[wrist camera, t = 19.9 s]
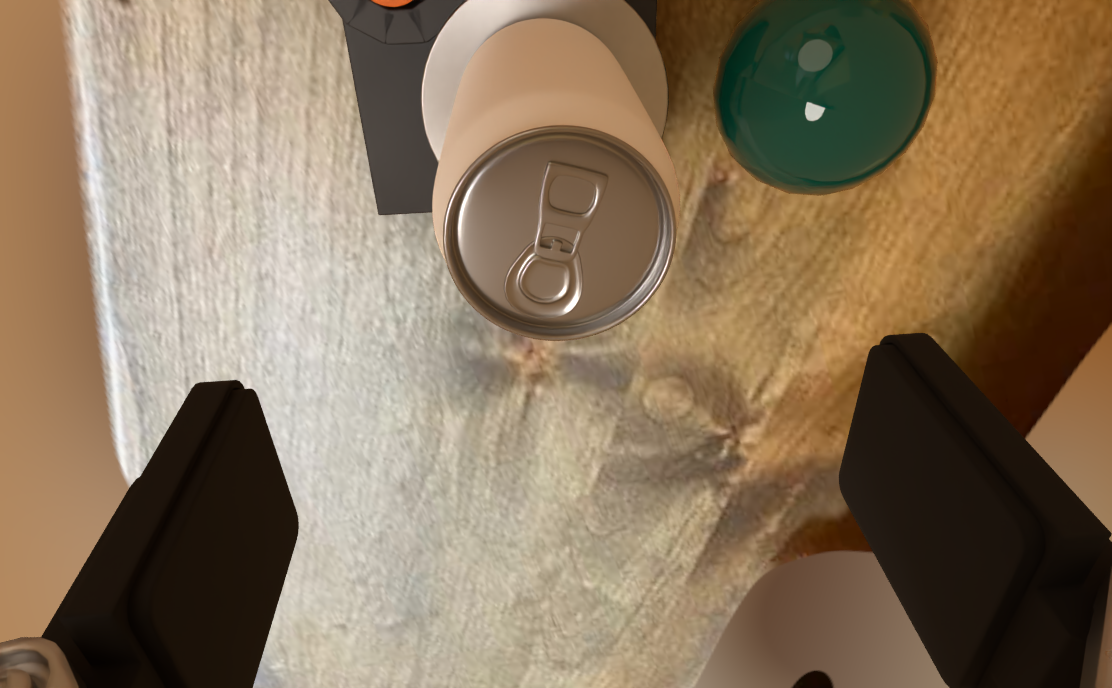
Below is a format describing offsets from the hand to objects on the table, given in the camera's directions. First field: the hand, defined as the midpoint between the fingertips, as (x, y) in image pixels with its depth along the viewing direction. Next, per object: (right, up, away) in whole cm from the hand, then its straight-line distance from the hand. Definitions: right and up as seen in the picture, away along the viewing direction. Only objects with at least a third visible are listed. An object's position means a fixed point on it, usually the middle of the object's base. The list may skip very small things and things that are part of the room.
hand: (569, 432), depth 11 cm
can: (-1, +10, +16) cm, 19 cm away
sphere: (+10, +13, +20) cm, 26 cm away
